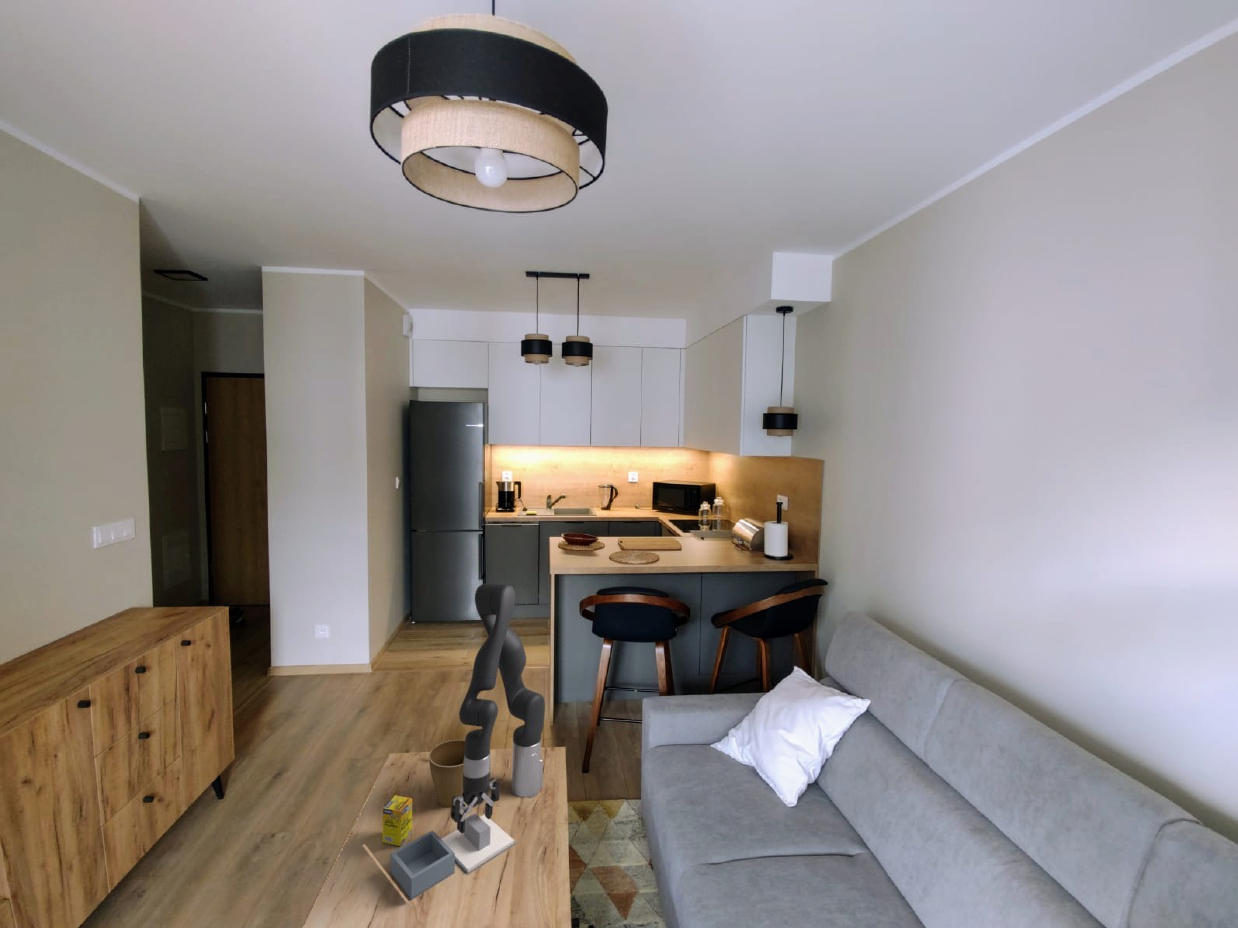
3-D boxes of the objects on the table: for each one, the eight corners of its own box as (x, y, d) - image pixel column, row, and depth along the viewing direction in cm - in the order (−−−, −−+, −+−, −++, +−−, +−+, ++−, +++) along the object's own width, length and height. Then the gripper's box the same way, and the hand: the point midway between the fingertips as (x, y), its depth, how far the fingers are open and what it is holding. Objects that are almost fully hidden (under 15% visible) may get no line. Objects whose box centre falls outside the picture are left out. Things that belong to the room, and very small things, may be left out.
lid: (484, 817, 167) (485, 798, 166) (514, 843, 156) (514, 823, 156) (439, 842, 156) (439, 822, 155) (467, 872, 145) (468, 851, 145)
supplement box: (400, 848, 154) (400, 811, 153) (381, 845, 155) (382, 807, 154) (412, 833, 160) (413, 797, 159) (394, 830, 161) (394, 794, 160)
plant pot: (425, 819, 166) (426, 768, 165) (430, 788, 180) (431, 741, 179) (476, 813, 169) (477, 763, 168) (477, 783, 184) (477, 737, 183)
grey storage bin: (432, 850, 153) (432, 830, 153) (454, 874, 145) (454, 853, 145) (390, 874, 145) (390, 852, 144) (411, 901, 137) (411, 879, 136)
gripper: (491, 753, 163) (489, 806, 163) (447, 773, 152) (445, 829, 153) (505, 764, 157) (503, 819, 158) (461, 785, 147) (459, 843, 148)
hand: (474, 824), depth 155 cm, fingers open, 8 cm apart
